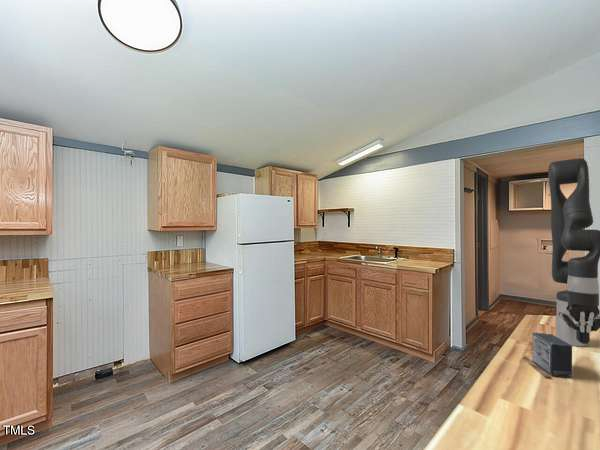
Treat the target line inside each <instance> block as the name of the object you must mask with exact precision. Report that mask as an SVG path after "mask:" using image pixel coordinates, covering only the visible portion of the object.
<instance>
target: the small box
mask: <svg viewBox="0 0 600 450" xmlns="http://www.w3.org/2000/svg"><path fill="white" fill-rule="evenodd" d="M531 356H532V359H531V361H532V362H534V363H535V364H536V365H537V366H539V367H540V368H541V369H542V370H543V371H545V372H546V373H547V374H548V375H549V376H551V377H560V378H569V379H570V378H571V379H572V378H573V345H570V344H568V343H566V342H565V341H563V340H561V339H559V338H557V337H556V335H554V334H552V333H551V334H550V333H542V332H540V333H539V332H532V355H531Z"/></svg>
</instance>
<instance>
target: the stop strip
mask: <svg viewBox="0 0 600 450" xmlns="http://www.w3.org/2000/svg"><path fill="white" fill-rule="evenodd" d="M522 359H523V360H524V361H525V362H526V363H527V364H528V365H529V366H531V367H532V369H534V370H536V372H537V373H539V374H540V375H541V376H542V377H544V379H548V380H549V379H550V380H552V376H550V375H549V374H547V373H546V372H545V371H544V370H542V369H541V368H540V367H539V366H537V365H536V364H535V363H534V362H532V359H530V358H529V357H528V356H527V357H526V356H522Z"/></svg>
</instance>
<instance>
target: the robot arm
mask: <svg viewBox="0 0 600 450" xmlns="http://www.w3.org/2000/svg"><path fill="white" fill-rule="evenodd" d="M547 171H548V172H547V174H548V175H547V176H548V185H549V186H548V187H549V195H550V227H551V241H552V252H551V253H552V254H551V256H552V257H551V277H552V280H553V281H554V282H555V283H558V284H566V290H560V291H558V292H556V315H555V336H556V337H557V338H559V339H561V340H563V341H565V342H566V343H568V344H570V345H572V347H573V346H574V347H587V346H588V344H589V343H590V336H591V332H597V331H598V330H599V329H600V308H599V306H600V283H599V262H600V230H599V229H587V228H590V227H591V226H592V225H593V223H594V218H593V213H592V208H591V203H590V175H589V165H588V162H587V161H586V159H585V158H583V157H582V158H581V157H579V158H570V159H563V160H555V161H552V162H550V163H549V164H548V170H547ZM569 184H576V187H575V188H574V190H573V192H572V193H571V194H570V195H569V196H568V197H567V196H566V195H565V194H564V193H563V192H562V189H561V186H562V185H569ZM567 251H573V252H575V251H579V252H588V253H587V254H586V255H584V256H579V257H573V258H570V259H568V261H566V260H563V258H564V256H565V253H566V252H567Z"/></svg>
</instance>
